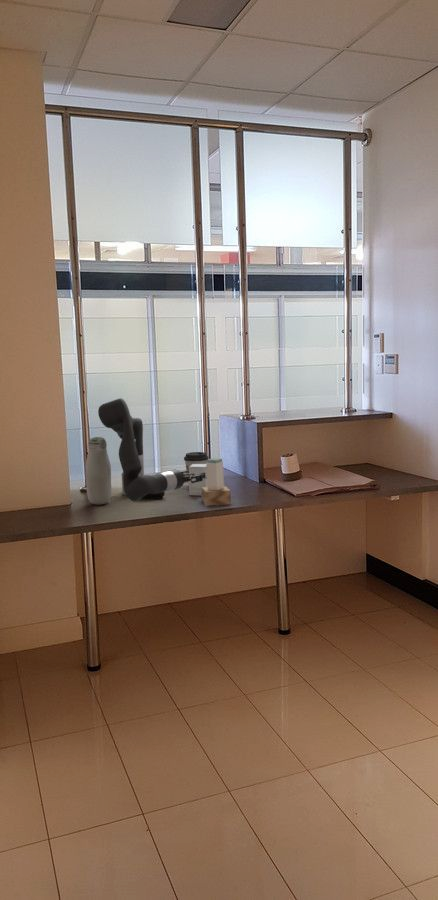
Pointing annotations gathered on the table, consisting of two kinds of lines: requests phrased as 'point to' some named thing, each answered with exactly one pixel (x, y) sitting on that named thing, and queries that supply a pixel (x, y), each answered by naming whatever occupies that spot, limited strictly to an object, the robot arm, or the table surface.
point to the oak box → (216, 496)
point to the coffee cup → (195, 459)
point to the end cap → (153, 495)
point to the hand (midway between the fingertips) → (196, 474)
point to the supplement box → (197, 487)
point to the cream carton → (215, 474)
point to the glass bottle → (98, 472)
